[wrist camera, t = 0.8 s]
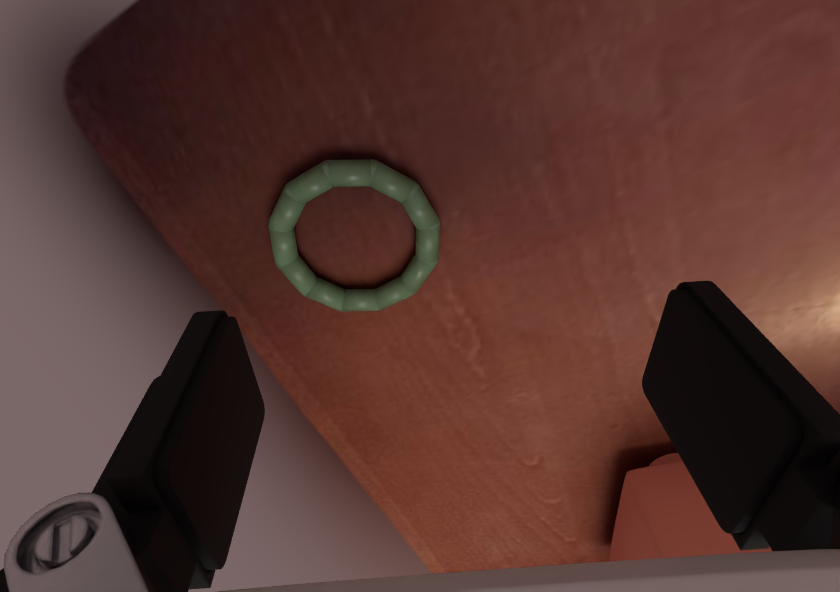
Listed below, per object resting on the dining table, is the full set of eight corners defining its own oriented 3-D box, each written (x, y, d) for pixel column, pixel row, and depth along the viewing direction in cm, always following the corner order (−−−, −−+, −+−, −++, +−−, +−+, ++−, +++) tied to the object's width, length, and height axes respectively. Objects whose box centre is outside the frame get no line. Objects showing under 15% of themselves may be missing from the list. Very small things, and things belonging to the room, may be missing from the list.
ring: (237, 210, 24) (230, 221, 23) (382, 121, 22) (382, 129, 21) (336, 324, 29) (334, 337, 28) (466, 259, 26) (469, 271, 25)
